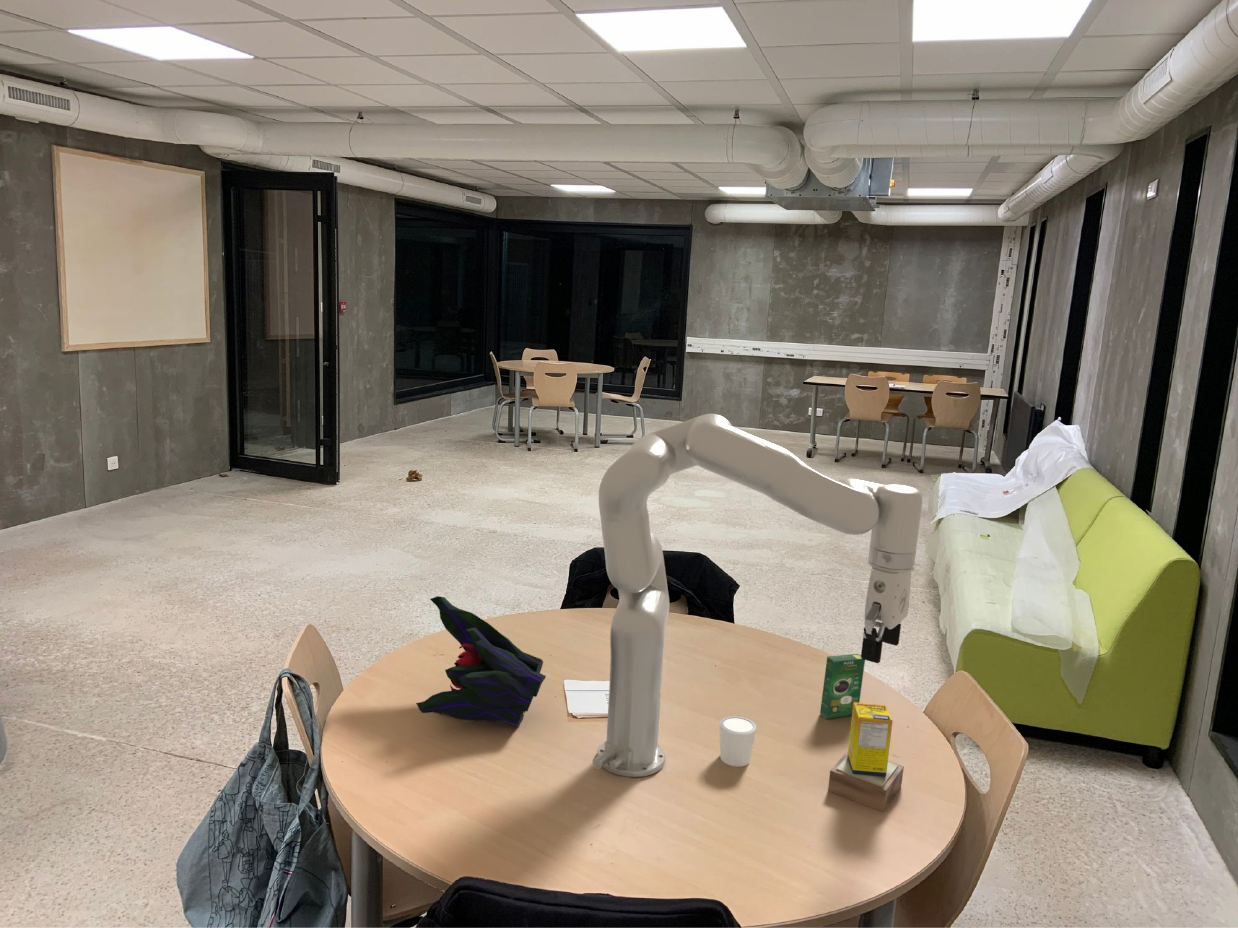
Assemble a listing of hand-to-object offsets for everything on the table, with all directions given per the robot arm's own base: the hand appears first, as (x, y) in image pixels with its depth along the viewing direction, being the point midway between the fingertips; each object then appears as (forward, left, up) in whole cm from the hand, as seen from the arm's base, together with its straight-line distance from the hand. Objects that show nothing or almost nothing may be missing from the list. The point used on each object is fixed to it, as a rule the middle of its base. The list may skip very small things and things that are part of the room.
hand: (879, 651), depth 153 cm
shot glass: (-6, +23, -26) cm, 35 cm away
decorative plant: (-25, +73, -26) cm, 81 cm away
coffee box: (+24, +14, -26) cm, 38 cm away
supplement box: (0, 0, -22) cm, 22 cm away
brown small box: (0, 0, -26) cm, 26 cm away
